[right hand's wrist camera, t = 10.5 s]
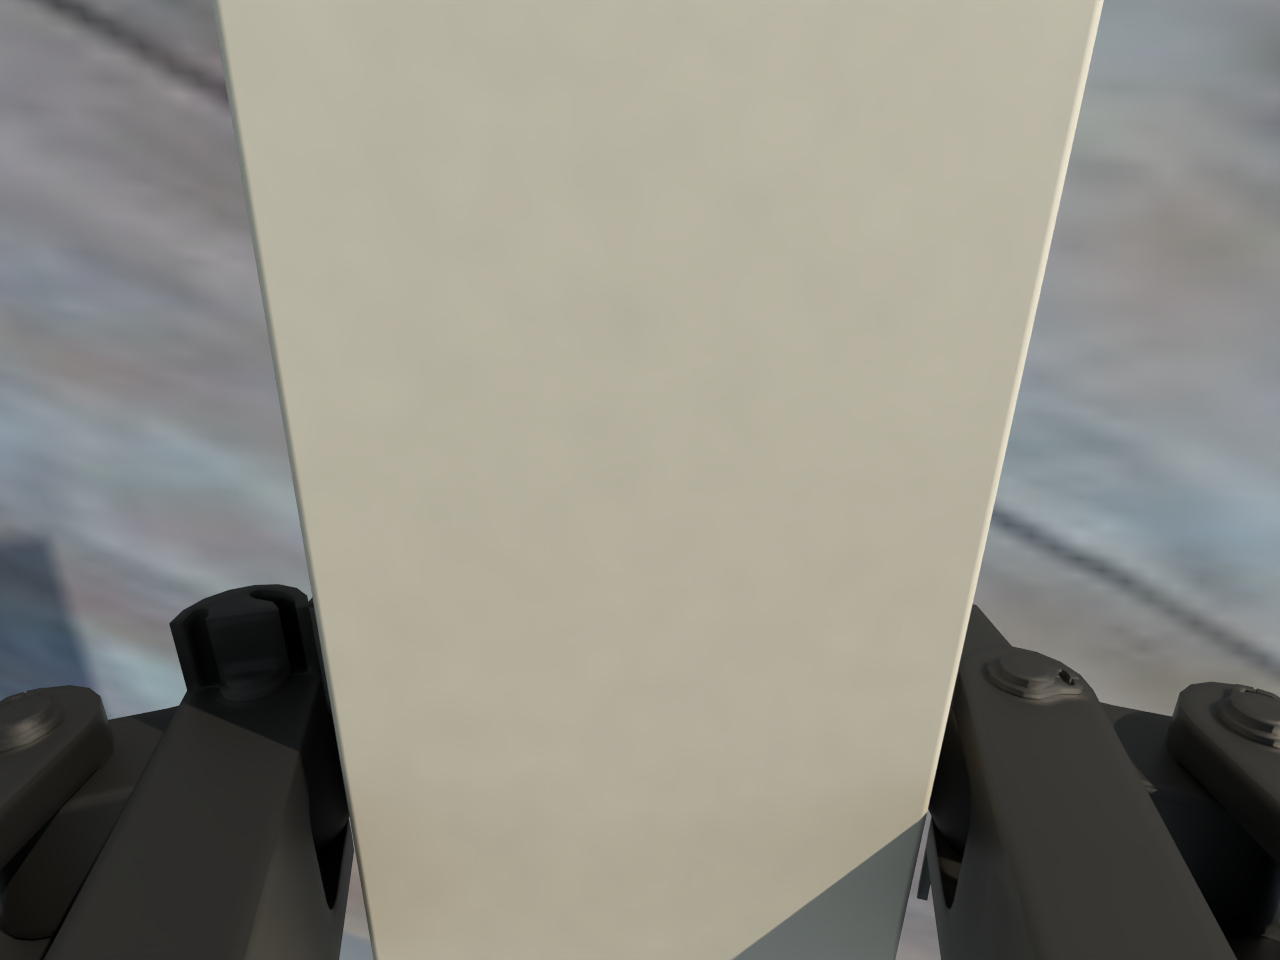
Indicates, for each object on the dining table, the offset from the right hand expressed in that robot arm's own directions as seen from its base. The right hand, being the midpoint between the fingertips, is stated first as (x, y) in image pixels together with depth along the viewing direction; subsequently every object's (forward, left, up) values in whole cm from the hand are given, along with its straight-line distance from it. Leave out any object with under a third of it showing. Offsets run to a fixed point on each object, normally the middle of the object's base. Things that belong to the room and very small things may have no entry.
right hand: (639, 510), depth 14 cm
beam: (+11, 0, 0) cm, 11 cm away
